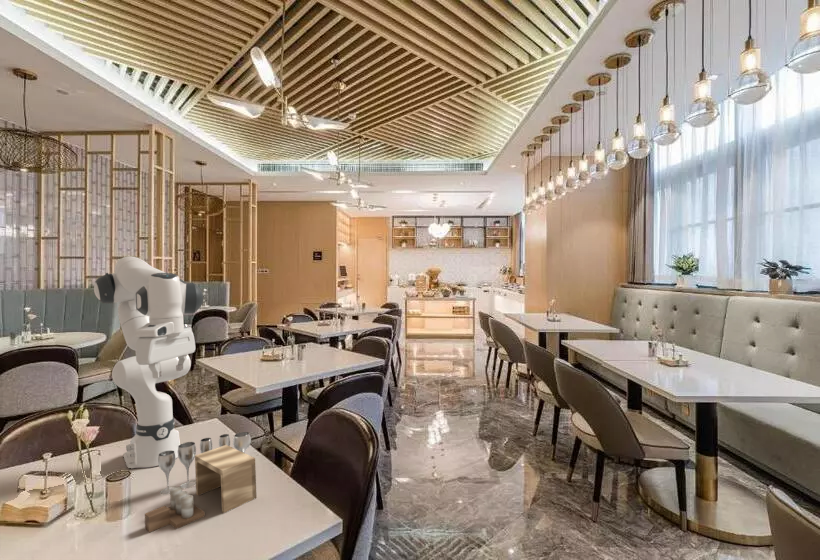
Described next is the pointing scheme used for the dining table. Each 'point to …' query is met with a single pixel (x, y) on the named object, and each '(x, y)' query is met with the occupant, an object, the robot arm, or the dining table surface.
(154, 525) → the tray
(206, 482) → the wooden stand
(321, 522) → the dining table surface
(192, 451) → the goblet set
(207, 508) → the dining table surface
